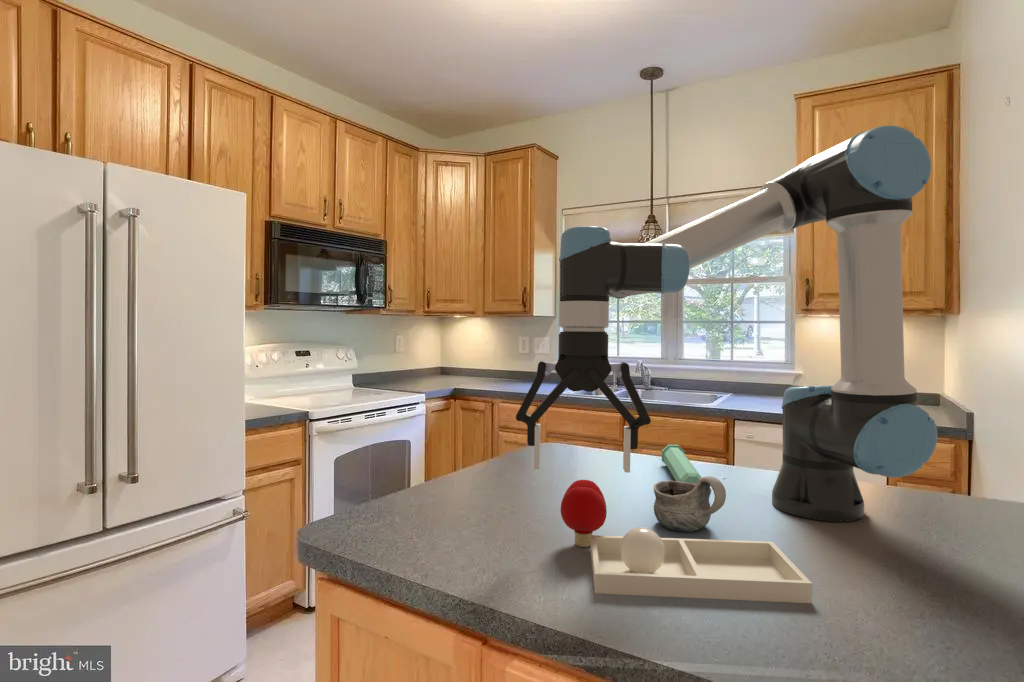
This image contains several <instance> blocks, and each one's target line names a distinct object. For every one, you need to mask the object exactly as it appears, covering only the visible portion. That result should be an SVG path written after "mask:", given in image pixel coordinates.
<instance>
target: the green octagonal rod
mask: <svg viewBox="0 0 1024 682" xmlns="http://www.w3.org/2000/svg"><path fill="white" fill-rule="evenodd" d="M661 462H662V463H664V464H665V465H666V466H667V468H668V470H669V471H670V473H671V475H672V477H673V478H674V481H679V482H687V483H692V484H696V483H697V482H698V481H699V480H700V479H701V478H703V476H702V475H701V474H700V473H699V471H697V469H696V468H695V466H694V465H693V464H692V463H691V461H690V460H689V458H688V457H687V456H686V451H685V450H684V449H682V447H681V446H680V445H679V444H667V445H666V446H665V447H664V448H662V449H661Z"/></svg>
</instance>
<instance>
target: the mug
mask: <svg viewBox="0 0 1024 682" xmlns="http://www.w3.org/2000/svg"><path fill="white" fill-rule="evenodd" d="M712 491H713V494H714V500H713V502H712V504H711V503H710V496H711V493H712ZM726 492H727V491H726V488H725V486H724V484H723V482H722V481H721V480H720V479H719V478H717V477H714V476H711V475H710V476H702V478H701V479H700V480H699V481H698V482H697V483H696V484H692V483H687V482H679V481H676V480H664V481H659V482H658V481H657V482H656V483H654V485H653V493H654V496H655V499H654V503H653V504H654V506H653V513H654V515H655V518H656V520H657V522H658V523H659V524H661V525H662V526H663V527H665V528H666V529H669V530H672V531H677V532H681V533H682V532H683V533H694V532H697V531H699V530H701V529H702V528H705V527H706V526H707V524H709V521H710V519H711V516H712V515H713V514H714V513H717V512H719V510H720V509H721V508H722V507H723V506H724V505H725V504H726V503H725V502H726V500H727V493H726Z"/></svg>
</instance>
